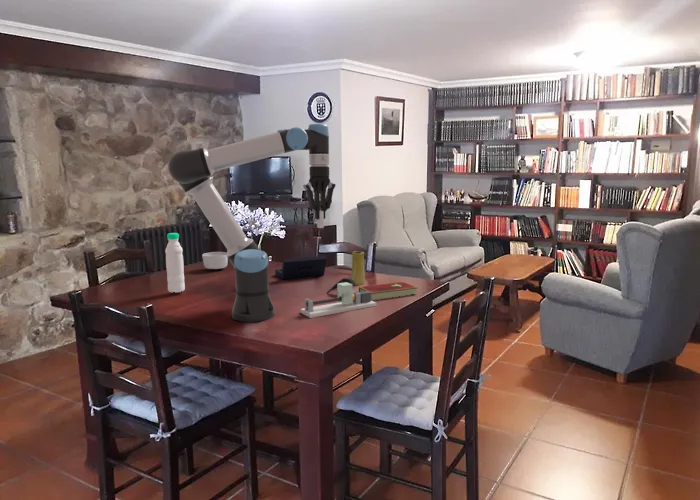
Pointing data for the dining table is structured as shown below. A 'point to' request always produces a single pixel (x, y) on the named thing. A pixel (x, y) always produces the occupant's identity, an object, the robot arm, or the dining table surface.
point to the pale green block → (345, 292)
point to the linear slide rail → (337, 305)
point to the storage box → (302, 267)
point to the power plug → (348, 280)
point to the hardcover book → (389, 290)
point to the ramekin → (215, 260)
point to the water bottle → (174, 264)
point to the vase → (358, 268)
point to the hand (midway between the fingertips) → (320, 227)
